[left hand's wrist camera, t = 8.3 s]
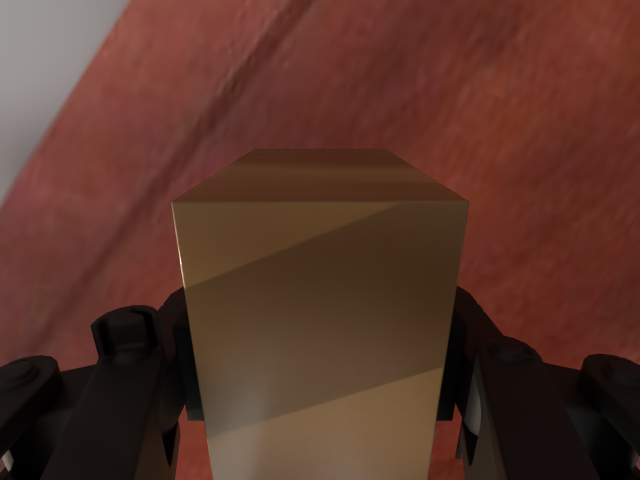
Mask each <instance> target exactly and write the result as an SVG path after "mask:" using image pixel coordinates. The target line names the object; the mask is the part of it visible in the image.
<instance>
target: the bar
mask: <svg viewBox="0 0 640 480" xmlns="http://www.w3.org/2000/svg"><path fill="white" fill-rule="evenodd" d="M171 206H172V212H173V219H174V225H175V232H176V239H177V245H178V252H179V258H180V265H181V272H182V278H183V285H184V291H185V298H186V304H187V311H188V318H189V324H190V331H191V337H192V344H193V351H194V357H195V364H196V370H197V377H198V384H199V390H200V397H201V403H202V410H203V416H204V423H205V430H206V436H207V443H208V449H209V456H210V463H211V469H212V476H213V480H427V479H428V472H429V466H430V459H431V452H432V446H433V439H434V433H435V426H436V419H437V413H438V406H439V400H440V393H441V386H442V380H443V373H444V367H445V360H446V353H447V347H448V340H449V334H450V327H451V320H452V314H453V307H454V301H455V294H456V287H457V281H458V274H459V268H460V261H461V254H462V248H463V241H464V235H465V228H466V221H467V215H468V208H469V201H468V200H466V199H464V198H463V197H461V196H460V195H458V194H456V193H455V192H453V191H452V190H450V189H448V188H447V187H445V186H444V185H442V184H440V183H439V182H437V181H436V180H434V179H432V178H431V177H429V176H428V175H426V174H424V173H423V172H421V171H420V170H418V169H416V168H415V167H413V166H412V165H410V164H408V163H407V162H405V161H404V160H402V159H400V158H399V157H397V156H396V155H394V154H392V153H391V152H389V151H388V150H386V149H254V150H252V151H251V152H249V153H248V154H246V155H244V156H243V157H241V158H240V159H238V160H236V161H235V162H233V163H232V164H230V165H229V166H227V167H225V168H224V169H222V170H221V171H219V172H217V173H216V174H214V175H213V176H211V177H210V178H208V179H206V180H205V181H203V182H202V183H200V184H198V185H197V186H195V187H194V188H192V189H191V190H189V191H187V192H186V193H184V194H183V195H181V196H179V197H178V198H176V199H175V200H173V201H172V202H171Z"/></svg>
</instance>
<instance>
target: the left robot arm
mask: <svg viewBox="0 0 640 480" xmlns="http://www.w3.org/2000/svg"><path fill="white" fill-rule="evenodd" d="M91 330H92V333H93V337H94V341H95V344H96V348H97V352H98V356H99V359H98V361H97V363H96V364H95V365H91V366H86V367H82V368H77V369H72V370H67V371H62V372H60V369H59V366H58V363H57V361H56V360H55V359H54V358H52V357H50V356H43V355H40V356H32V357H25V358H21V359H18V360H15V361H12V362H10V363H9V364H6V365H4V366H2V367H0V459H1V458H2V459H3V461H4V463H5V466H6V467H5V468H4V469H3V470H2V472H1V473H0V480H175V474H176V466H177V458H178V450H179V442H180V428H179V422H178V418H179V416H180V414H181V412H182V409H183V407H184V405H186V411H187V417H188V421H204V416H203V410H202V403H201V397H200V390H199V384H198V377H197V370H196V364H195V357H194V351H193V344H192V337H191V331H190V324H189V318H188V311H187V304H186V298H185V291H184V286H183V287H182V288H180V289H179V290H177V291H175V292H174V293H172V294H171V295H170V296H169V297H168V299H167V300H166V301H165V302H164V304H163V306H161V307H160V309H159V310H158V311H157V310H156V309H154V308H153V307H150V306H145V305H133V306H127V307H123V308H118V309H116V310H113V311H110V312H108V313H106V314H104V315H103V316H101V317H99V318H98V319H96V320H95V321H94V323H93V324H92V325H91ZM455 403H456V405H457V407H458V409H459V411H460V414H461V416H462V422H461V428H460V433H459V438H458V444H457V449H456V456H455V458H458V459H460V457H461V452H462V457H463V465H464V473H465V480H640V470H639V469H638V468H637V467H636V466H635V464H636V462H637V460H638V457H639V456H640V365H638V364H636V363H634V362H632V361H630V360H628V359H625V358H620V357H618V356H614V355H606V354H594V355H589V356H588V357H586V358H585V359H584V361H583V364H582V367H581V370H576V369H571V368H567V367H562V366H557V365H552V364H548V363H544V362H543V361H542V359H541V357H540V356H539V354H538V353H537V352H536V351H535V350H534V349H533V348H531V347H530V346H529V345H527V344H526V343H524V342H521V341H519V340H517V339H515V338H511V337H507V336H503V334H502V333H501V332H500V331H499V329H498V328H497V327H496V326H495V324H494V323H493V322H492V321H491V319H490V318H489V317H488V316H487V314H486V313H485V312H483V309H482V308H481V307H480V306H479V304H477V302H476V301H475V299H474V298H473V297H472V296H471V294H470V293H468V292H467V291H465V290H464V289H462V288H460V287H459V286H457V287H456V294H455V301H454V307H453V314H452V320H451V327H450V334H449V340H448V347H447V353H446V360H445V367H444V373H443V380H442V386H441V393H440V400H439V406H438V413H437V419H436V421H452V418H453V413H454V407H455Z"/></svg>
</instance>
